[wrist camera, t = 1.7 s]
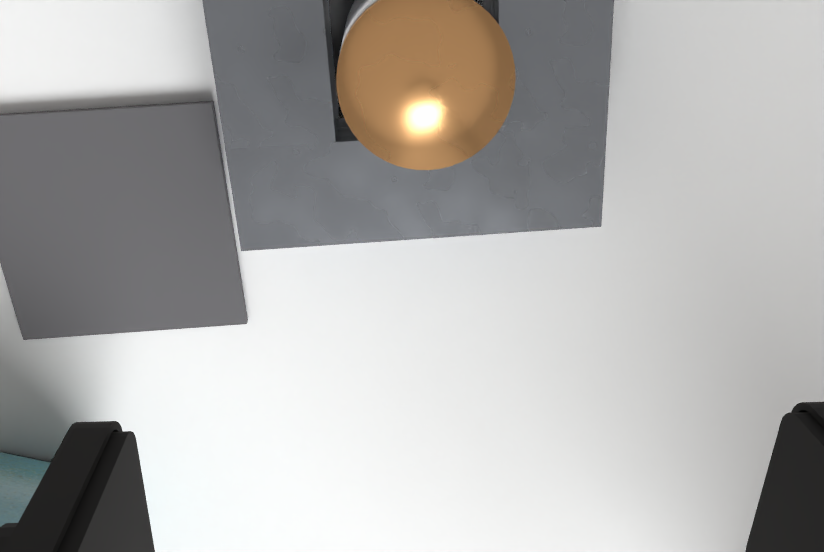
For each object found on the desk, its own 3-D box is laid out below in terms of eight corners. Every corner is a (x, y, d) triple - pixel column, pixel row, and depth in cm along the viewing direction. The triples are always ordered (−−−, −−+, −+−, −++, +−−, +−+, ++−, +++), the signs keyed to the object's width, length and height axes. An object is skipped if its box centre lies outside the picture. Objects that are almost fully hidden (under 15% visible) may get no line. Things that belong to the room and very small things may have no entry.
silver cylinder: (468, -34, 29) (516, -18, 20) (471, 97, 31) (515, 164, 22) (339, -26, 29) (327, -8, 20) (350, 104, 31) (344, 175, 22)
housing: (590, -174, 28) (624, -191, 24) (575, 194, 33) (601, 226, 30) (201, -155, 27) (176, -168, 24) (254, 215, 33) (241, 250, 29)
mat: (213, 101, 31) (211, 103, 30) (247, 319, 35) (246, 323, 35) (-38, 116, 31) (-43, 118, 30) (27, 335, 35) (23, 339, 34)
